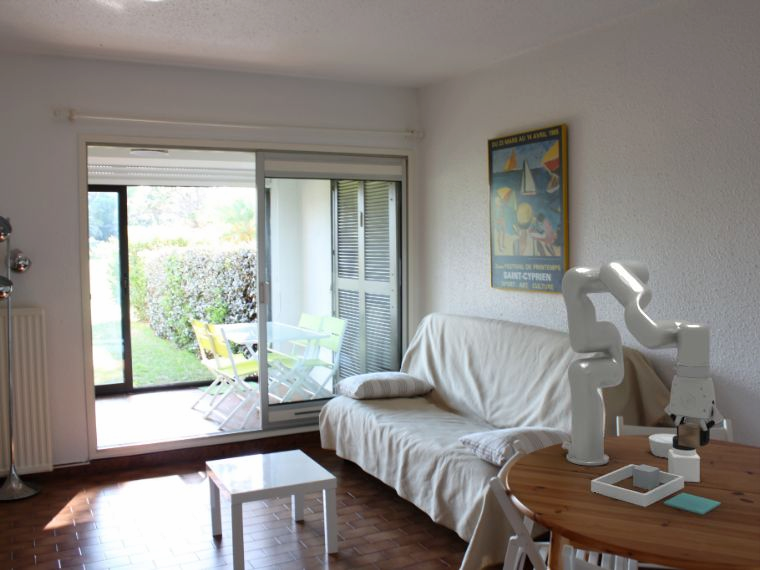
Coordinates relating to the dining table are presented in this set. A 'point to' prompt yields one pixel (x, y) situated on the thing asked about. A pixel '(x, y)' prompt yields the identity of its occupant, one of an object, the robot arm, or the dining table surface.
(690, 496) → the teal mat
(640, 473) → the slate box
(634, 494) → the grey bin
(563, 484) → the dining table surface
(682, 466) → the medicine bottle
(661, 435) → the ramekin
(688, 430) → the walnut box
